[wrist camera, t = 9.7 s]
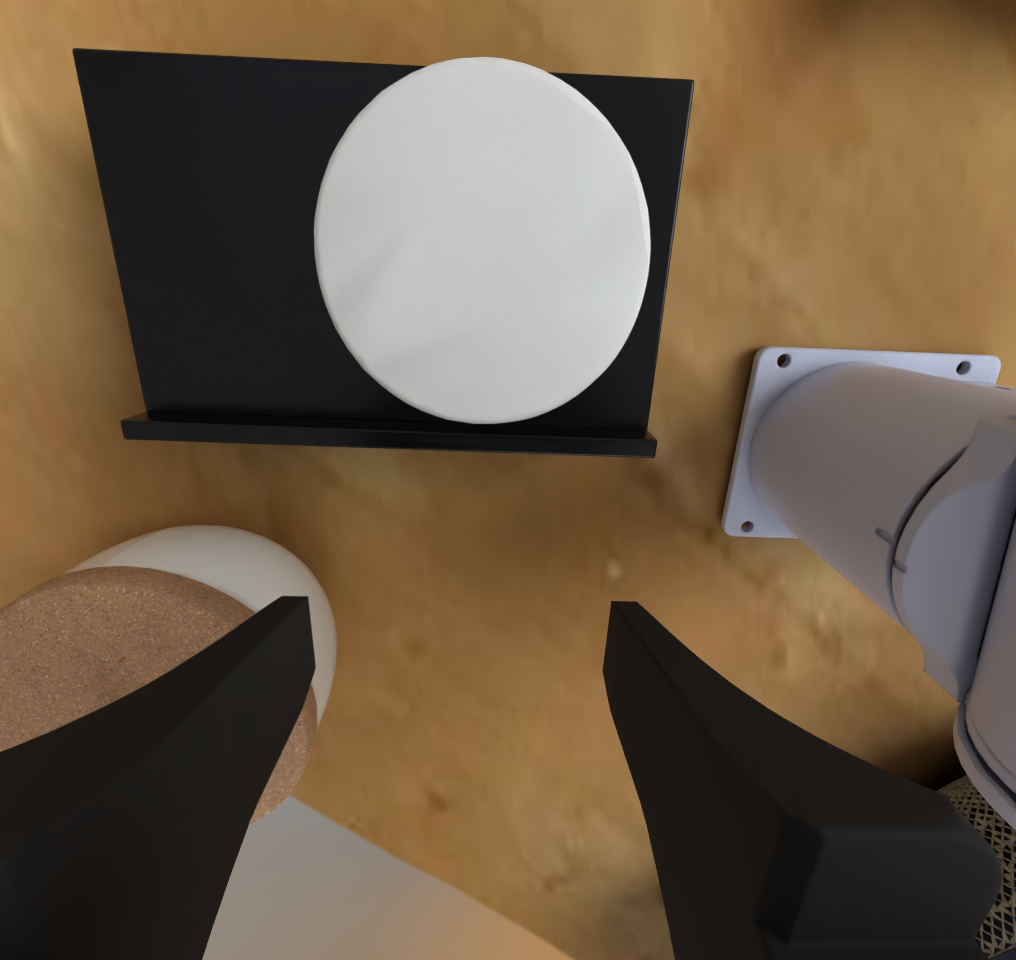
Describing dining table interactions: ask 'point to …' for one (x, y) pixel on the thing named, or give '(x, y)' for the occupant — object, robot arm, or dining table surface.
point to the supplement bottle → (482, 240)
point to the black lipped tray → (313, 255)
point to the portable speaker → (1012, 919)
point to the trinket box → (153, 631)
